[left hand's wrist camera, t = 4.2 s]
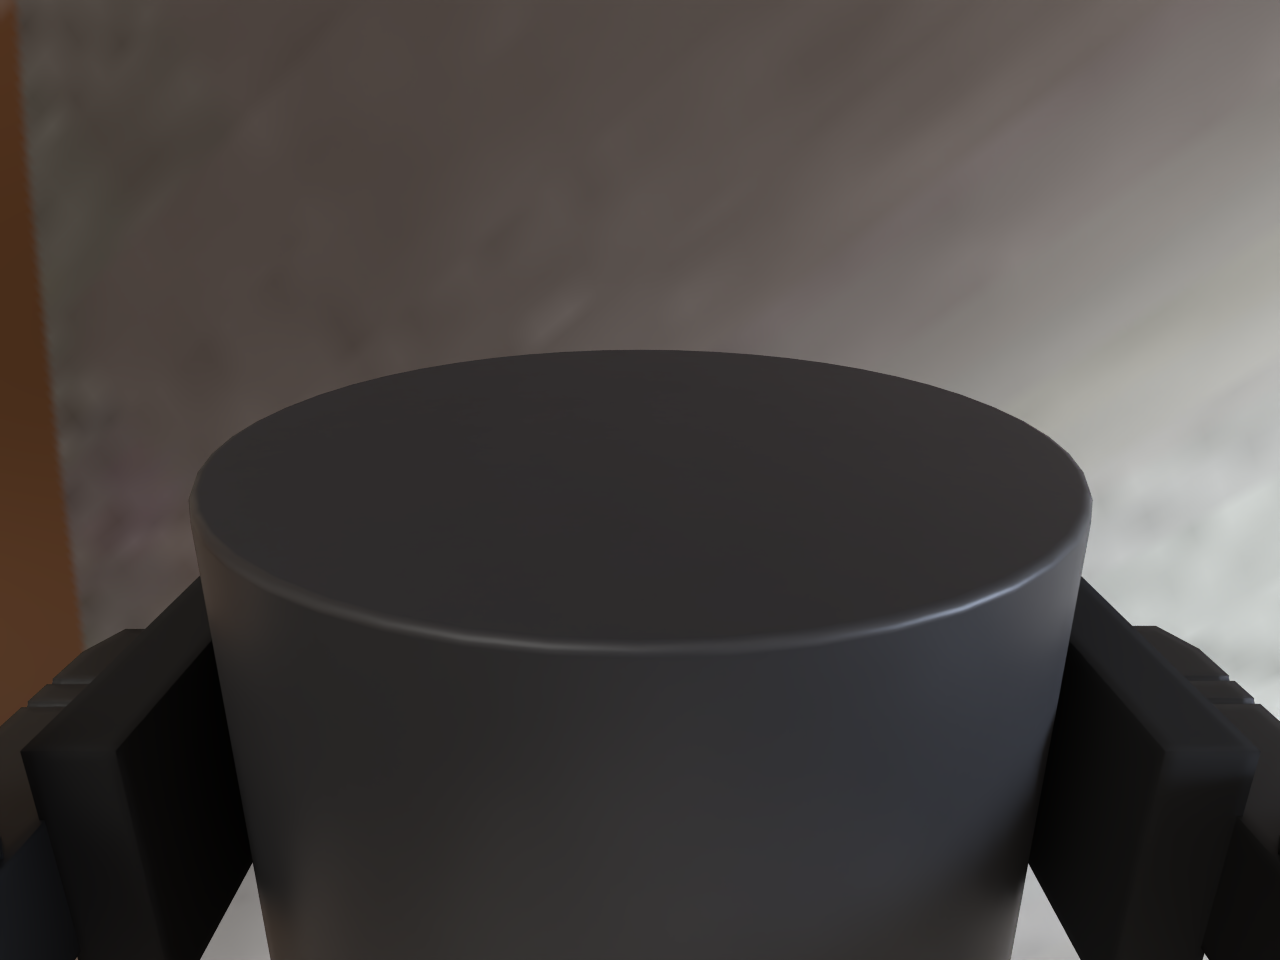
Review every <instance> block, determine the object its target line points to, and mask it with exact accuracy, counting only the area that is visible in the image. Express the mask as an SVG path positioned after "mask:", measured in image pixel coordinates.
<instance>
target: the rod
mask: <svg viewBox="0 0 1280 960" xmlns="http://www.w3.org/2000/svg"><path fill="white" fill-rule="evenodd" d="M1092 501H1093V500H1092V496H1091V493H1090V490H1089V487H1088V484H1087V482H1086V479H1085V476H1084V473H1083V471H1082V470H1081V469H1080V467H1079V466H1078V465H1077V463H1076V462H1075V461H1074V460H1073V458H1072V457H1071V456H1070V454H1069V453H1068V452H1066V451H1065V450H1064V449H1063V448H1062V447H1060V446H1059V445H1058V444H1057V443H1056V442H1054V441H1053V440H1052V439H1051V438H1050V437H1048V436H1047V435H1045V434H1044V433H1042V432H1040V431H1039V430H1037V429H1035V428H1034V427H1032V426H1030V425H1029V424H1027V423H1026V422H1024V421H1022V420H1020V419H1018V418H1015V417H1013V416H1011V415H1009V414H1007V413H1005V412H1003V411H1001V410H999V409H997V408H994V407H992V406H989V405H987V404H984V403H981V402H979V401H976V400H973V399H971V398H968V397H966V396H963V395H960V394H957V393H954V392H950V391H947V390H944V389H941V388H938V387H934V386H931V385H928V384H924V383H920V382H916V381H912V380H908V379H904V378H900V377H896V376H892V375H887V374H882V373H877V372H872V371H867V370H863V369H857V368H851V367H845V366H839V365H833V364H827V363H821V362H813V361H805V360H798V359H790V358H781V357H771V356H761V355H750V354H736V353H722V352H703V351H679V350H602V351H578V352H559V353H545V354H530V355H520V356H510V357H500V358H491V359H483V360H475V361H468V362H460V363H454V364H448V365H442V366H436V367H430V368H424V369H418V370H413V371H409V372H404V373H399V374H394V375H389V376H385V377H381V378H377V379H373V380H369V381H365V382H361V383H357V384H353V385H350V386H347V387H343V388H340V389H337V390H334V391H331V392H327V393H324V394H321V395H318V396H315V397H313V398H310V399H308V400H305V401H302V402H300V403H297V404H295V405H292V406H289V407H287V408H284V409H282V410H280V411H278V412H276V413H274V414H272V415H270V416H268V417H266V418H263V419H261V420H259V421H257V422H255V423H254V424H252V425H251V426H249V427H247V428H246V429H244V430H242V431H241V432H239V433H238V434H236V435H234V436H233V437H231V438H230V439H229V440H228V441H227V442H225V443H224V444H223V445H222V446H221V447H220V448H218V449H217V450H216V451H215V452H214V453H212V455H211V456H210V457H209V459H208V460H207V461H206V462H205V464H204V465H203V466H202V468H201V469H200V470H199V472H198V474H197V477H196V479H195V482H194V485H193V488H192V491H191V494H190V498H189V510H190V523H191V528H192V534H193V539H194V545H195V550H196V555H197V561H198V566H199V572H200V577H201V583H202V588H203V594H204V599H205V604H206V610H207V615H208V621H209V626H210V632H211V637H212V643H213V648H214V653H215V659H216V664H217V670H218V675H219V681H220V686H221V692H222V697H223V702H224V708H225V713H226V719H227V724H228V730H229V735H230V741H231V746H232V751H233V757H234V762H235V768H236V773H237V779H238V784H239V790H240V795H241V800H242V806H243V811H244V817H245V822H246V828H247V833H248V839H249V844H250V849H251V855H252V860H253V866H254V871H255V877H256V882H257V888H258V893H259V898H260V904H261V909H262V915H263V920H264V926H265V931H266V937H267V942H268V947H269V953H270V958H271V960H1010V959H1011V954H1012V948H1013V943H1014V937H1015V932H1016V927H1017V921H1018V916H1019V910H1020V905H1021V899H1022V894H1023V889H1024V883H1025V878H1026V872H1027V867H1028V861H1029V856H1030V851H1031V845H1032V840H1033V834H1034V829H1035V823H1036V818H1037V813H1038V807H1039V802H1040V796H1041V791H1042V785H1043V780H1044V775H1045V769H1046V764H1047V758H1048V753H1049V747H1050V742H1051V737H1052V731H1053V726H1054V720H1055V715H1056V709H1057V704H1058V699H1059V693H1060V688H1061V682H1062V677H1063V671H1064V666H1065V661H1066V655H1067V650H1068V644H1069V639H1070V633H1071V628H1072V623H1073V617H1074V612H1075V606H1076V601H1077V595H1078V590H1079V585H1080V579H1081V574H1082V568H1083V563H1084V557H1085V552H1086V547H1087V541H1088V536H1089V530H1090V525H1091V515H1092Z"/></svg>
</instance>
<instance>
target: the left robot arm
mask: <svg viewBox="0 0 1280 960" xmlns="http://www.w3.org/2000/svg"><path fill="white" fill-rule="evenodd" d="M252 863H253V860H252V855H251V849H250V844H249V839H248V833H247V828H246V822H245V817H244V811H243V806H242V800H241V795H240V790H239V784H238V779H237V773H236V768H235V762H234V757H233V751H232V746H231V741H230V735H229V730H228V724H227V719H226V713H225V708H224V702H223V697H222V692H221V686H220V681H219V675H218V670H217V664H216V659H215V653H214V648H213V643H212V637H211V632H210V626H209V621H208V615H207V610H206V604H205V599H204V594H203V588H202V583H201V577H200V576H199V577H198V578H197V579H196V580H195V581H194V582H193V583H192V584H191V585H190V586H189V587H188V588H187V589H186V590H185V591H184V592H183V593H182V594H181V595H180V596H179V597H178V598H177V599H176V600H175V601H174V602H173V603H171V604H170V605H169V606H168V607H167V608H166V609H165V610H164V611H163V612H162V613H161V614H160V615H159V616H158V617H157V618H156V619H155V620H154V621H153V622H152V623H151V624H150V625H149V626H148V627H147V628H146V629H125V630H123V631H121V632H119V633H117V634H115V635H113V636H112V637H110V638H108V639H106V640H104V641H102V642H100V643H98V644H97V645H95V646H93V647H91V648H89V649H87V650H85V651H83V652H82V653H81V654H80V655H79V656H78V657H77V658H75V659H74V660H73V661H72V662H71V663H70V664H69V665H68V666H67V667H65V668H64V669H63V670H62V671H61V672H60V673H59V674H58V675H57V676H55V677H54V678H53V683H52V684H47V685H46V686H44V687H43V688H42V689H41V690H40V691H39V692H38V693H37V694H36V695H35V696H33V697H32V698H31V699H30V700H29V701H28V706H27V707H22V708H20V709H19V710H18V711H17V712H16V713H15V714H14V715H12V716H11V717H10V718H9V719H8V720H7V721H6V722H5V723H4V724H3V725H1V726H0V960H75V959H76V958H77V957H78V960H200V959H201V957H202V955H203V953H204V951H205V949H206V948H207V946H208V944H209V942H210V940H211V938H212V937H213V935H214V933H215V931H216V929H217V927H218V925H219V924H220V922H221V920H222V918H223V916H224V914H225V913H226V911H227V909H228V907H229V905H230V903H231V901H232V900H233V898H234V896H235V894H236V892H237V890H238V888H239V887H240V885H241V883H242V881H243V879H244V877H245V876H246V874H247V872H248V870H249V868H250V866H251V864H252ZM1028 863H1029V865H1030V867H1031V869H1032V871H1033V873H1034V874H1035V876H1036V878H1037V880H1038V882H1039V884H1040V885H1041V887H1042V889H1043V891H1044V893H1045V895H1046V897H1047V898H1048V900H1049V902H1050V904H1051V906H1052V908H1053V909H1054V911H1055V913H1056V915H1057V917H1058V919H1059V921H1060V922H1061V924H1062V926H1063V928H1064V930H1065V932H1066V934H1067V935H1068V937H1069V939H1070V941H1071V943H1072V945H1073V946H1074V948H1075V950H1076V952H1077V954H1078V956H1079V958H1080V959H1081V960H1203V956H1204V953H1205V955H1206V956H1207V957H1208V959H1209V960H1280V721H1279V720H1278V719H1276V718H1275V717H1274V716H1273V715H1272V714H1271V713H1270V712H1269V711H1268V710H1266V709H1265V708H1264V707H1263V706H1262V705H1261V704H1255V703H1254V698H1253V697H1252V696H1251V695H1250V694H1249V693H1248V692H1246V691H1245V690H1244V689H1243V688H1242V687H1241V686H1240V685H1239V684H1238V683H1236V682H1235V681H1229V675H1228V674H1226V673H1225V672H1224V671H1223V670H1222V669H1221V668H1220V667H1219V666H1218V665H1216V664H1215V663H1214V662H1213V661H1212V660H1211V659H1210V658H1209V657H1208V656H1206V655H1205V654H1204V653H1203V652H1202V651H1201V650H1200V649H1198V648H1196V647H1195V646H1193V645H1191V644H1189V643H1187V642H1185V641H1183V640H1181V639H1179V638H1178V637H1176V636H1174V635H1172V634H1170V633H1168V632H1166V631H1164V630H1163V629H1161V628H1159V627H1157V626H1132V625H1131V624H1130V623H1129V622H1128V621H1127V620H1126V619H1125V618H1124V617H1123V616H1121V615H1120V614H1119V613H1118V612H1117V611H1116V610H1115V609H1114V608H1113V607H1112V606H1111V605H1110V604H1109V603H1108V602H1107V601H1106V600H1105V599H1104V598H1103V597H1102V596H1101V595H1100V594H1099V593H1098V592H1097V591H1096V590H1095V589H1094V588H1093V587H1092V586H1091V585H1090V584H1089V583H1088V582H1087V581H1086V580H1085V579H1084V578H1083V577H1081V579H1080V585H1079V590H1078V595H1077V601H1076V606H1075V612H1074V617H1073V623H1072V628H1071V633H1070V639H1069V644H1068V650H1067V655H1066V661H1065V666H1064V671H1063V677H1062V682H1061V688H1060V693H1059V699H1058V704H1057V709H1056V715H1055V720H1054V726H1053V731H1052V737H1051V742H1050V747H1049V753H1048V758H1047V764H1046V769H1045V775H1044V780H1043V785H1042V791H1041V796H1040V802H1039V807H1038V813H1037V818H1036V823H1035V829H1034V834H1033V840H1032V845H1031V851H1030V856H1029V861H1028Z"/></svg>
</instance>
